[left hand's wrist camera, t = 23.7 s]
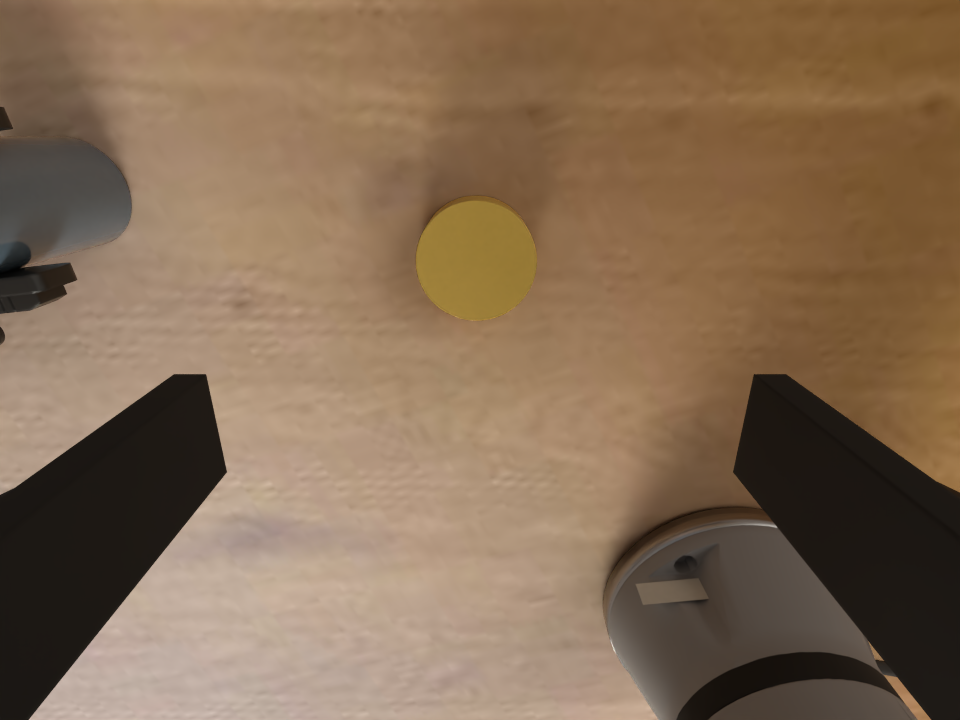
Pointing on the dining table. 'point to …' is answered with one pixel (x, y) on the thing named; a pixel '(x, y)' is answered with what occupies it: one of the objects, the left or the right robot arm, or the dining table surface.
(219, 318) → the dining table surface
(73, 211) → the grey tall cylinder
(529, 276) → the lid
